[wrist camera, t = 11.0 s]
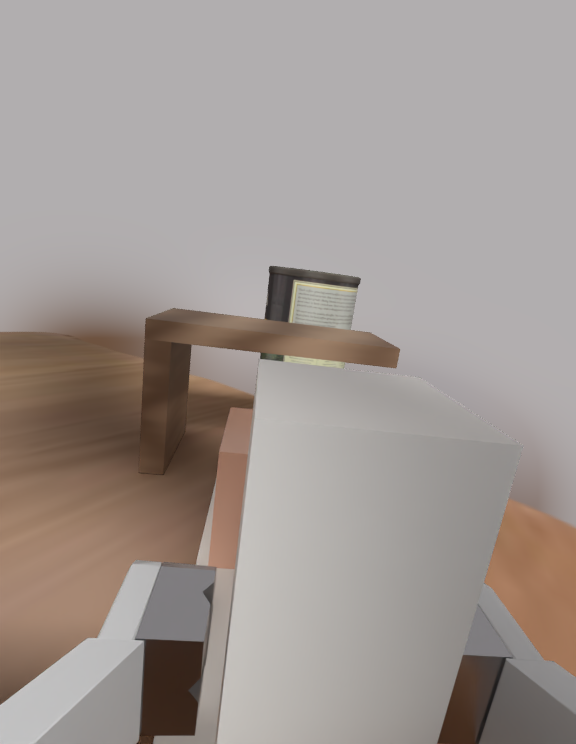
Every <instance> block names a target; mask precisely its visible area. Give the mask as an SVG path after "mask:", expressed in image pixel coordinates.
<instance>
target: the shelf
mask: <svg viewBox="0 0 576 744" xmlns="http://www.w3.org/2000/svg"><path fill="white" fill-rule="evenodd" d="M191 344H192V345H200V346H209V347H218V348H227V349H235V350H243V351H252V352H260V353H269V354H278V355H286V356H295V357H303V358H312V359H321V360H329V361H338V362H347V363H356V364H364V365H373V366H382V367H390V368H396V367H397V362H398V357H399V352H400V349H399V348H397V347H395V346H394V345H392V344H390V343H388V342H386V341H384V340H383V339H381V338H379V337H377V336H375V335H373V334H371V333H369V332H362V331H354V330H346V329H338V328H330V327H322V326H313V325H305V324H297V323H289V322H281V321H273V320H265V319H256V318H248V317H241V316H232V315H224V314H216V313H208V312H200V311H192V310H183V309H176V308H173V309H170V310H167V311H164V312H162V313H159V314H157V315H153V316H151V317H148V318H146V324H145V347H144V368H143V390H142V413H141V435H140V457H139V473H150V474H161V475H163V474H164V472H165V470H166V468H167V466H168V464H169V462H170V460H171V458H172V456H173V454H174V452H175V450H176V448H177V446H178V445H179V443H180V441H181V439H182V437H183V435H184V433H185V426H186V412H187V398H188V385H189V371H190V370H189V369H190V356H191Z"/></svg>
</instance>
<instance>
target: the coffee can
mask: <svg viewBox="0 0 576 744" xmlns="http://www.w3.org/2000/svg"><path fill="white" fill-rule="evenodd" d="M269 273H270V276H269V285H268V295H267V303H266V312H265V320H273V321H281V322H289V323H297V324H305V325H313V326H322V327H330V328H338V329H346V330H351V324H352V319H353V313H354V307H355V302H356V296H357V289H358V285H359V284H360V280H361V279H360V278H359V277H353V276H346V275H340V274H332V273H325V272H318V271H310V270H302V269H294V268H285V267H277V266H270V267H269ZM260 359H265V360H273V361H282V362H291V363H300V364H308V365H317V366H326V367H334V368H343V369H344V366H345V362H338V361H329V360H321V359H312V358H303V357H295V356H286V355H278V354H269V353H261V356H260Z"/></svg>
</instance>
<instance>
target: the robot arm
mask: <svg viewBox="0 0 576 744" xmlns="http://www.w3.org/2000/svg"><path fill="white" fill-rule="evenodd" d="M216 573H217V567H213V566H202V565H191V564H180V563H170V562H164V563H162V562H153V561H142V560H136V561H135V562H134V563H133V564H132V565H131V566H130V568H129V570H128V572H127V575H126V577H125V579H124V581H123V583H122V585H121V587H120V590H119V592H118V594H117V596H116V598H115V600H114V603H113V605H112V607H111V609H110V611H109V613H108V616H107V618H106V620H105V622H104V624H103V626H102V628H101V631H100V633H99V635H98V637H97V638H87V639H85V640H84V641H83V642H81V643H80V644H79V645H77V646H76V647H75V648H74V649H72V650H71V651H70V652H68V653H67V654H66V655H64V656H63V657H62V658H61V659H59V660H58V661H57V662H55V663H54V664H53V665H51V666H50V667H49V668H48V669H46V670H45V671H44V672H42V673H41V674H40V675H38V676H37V677H36V678H35V679H33V680H32V681H31V682H29V683H28V684H27V685H25V686H24V687H23V688H22V689H20V690H19V691H18V692H16V693H15V694H14V695H12V696H11V697H10V698H9V699H7V700H6V701H5V702H3V703H2V704H1V705H0V744H136V743H137V742H138V741H139V736H195V731H196V725H197V719H198V712H199V706H200V700H201V693H202V685H203V676H204V666H205V665H206V660H207V653H208V646H209V638H210V631H211V622H212V614H213V598H214V592H215V585H216ZM437 743H441V744H576V677H574V676H573V675H572V674H570V673H569V672H567V671H566V670H565V669H563V668H562V667H560V666H559V665H558V664H556V663H555V662H554V661H544V659H543V658H542V656H541V655H540V654H539V652H538V651H537V650H536V648H535V647H534V646H533V644H532V643H531V641H530V640H529V639H528V637H527V636H526V635H525V633H524V632H523V630H522V629H521V628H520V626H519V625H518V624H517V622H516V621H515V620H514V618H513V617H512V615H511V614H510V613H509V611H508V610H507V609H506V607H505V606H504V605H503V603H502V602H501V600H500V599H499V598H498V596H497V595H496V594H495V592H494V591H493V589H492V588H491V587H489V586H488V585H486V584H485V583H484V584H483V587H482V591H481V594H480V598H479V601H478V604H477V608H476V611H475V615H474V618H473V622H472V625H471V629H470V632H469V635H468V639H467V642H466V646H465V649H464V653H463V656H462V660H461V663H460V666H459V670H458V673H457V677H456V680H455V684H454V687H453V691H452V694H451V697H450V701H449V704H448V708H447V711H446V715H445V718H444V722H443V725H442V728H441V732H440V735H439V739H438V742H437Z"/></svg>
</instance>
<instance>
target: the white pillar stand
mask: <svg viewBox="0 0 576 744" xmlns="http://www.w3.org/2000/svg"><path fill="white" fill-rule="evenodd" d="M522 449H523V445H522V444H520V443H519V442H517V441H516V440H514V439H513V438H511V437H510V436H508V435H507V434H505V433H504V432H502V431H501V430H499V429H497V428H496V427H495V426H493V425H492V424H490V423H489V422H487V421H486V420H484V419H483V418H481V417H479V416H478V415H476V414H475V413H473V412H472V411H470V410H469V409H467V408H466V407H464V406H463V405H461V404H460V403H458V402H457V401H455V400H454V399H452V398H451V397H449V396H447V395H446V394H445V393H443V392H442V391H440V390H439V389H437V388H435V387H434V386H432V385H431V384H430V383H428V382H426V381H425V380H423V379H422V378H420V377H412V376H404V375H395V374H386V373H378V372H369V371H361V370H351V369H343V368H334V367H326V366H317V365H308V364H300V363H291V362H282V361H273V360H265V359H259V363H258V372H257V379H256V388H255V397H254V406H253V414H252V423H251V432H250V440H249V449H248V458H247V467H246V475H245V484H244V493H243V501H242V510H241V519H240V528H239V536H238V545H237V554H236V562H235V569H224V568H217V573H216V585H215V592H214V598H213V614H212V622H211V631H210V638H209V646H208V653H207V660H206V665H205V666H204V676H203V685H202V693H201V700H200V706H199V712H198V719H197V725H196V731H195V736H155V737H154V741H153V744H437V742H438V739H439V735H440V732H441V728H442V725H443V722H444V718H445V715H446V711H447V708H448V704H449V701H450V697H451V694H452V691H453V687H454V684H455V680H456V677H457V673H458V670H459V666H460V663H461V660H462V656H463V653H464V649H465V646H466V642H467V639H468V635H469V632H470V629H471V625H472V622H473V618H474V615H475V611H476V608H477V604H478V601H479V598H480V594H481V591H482V587H483V584H484V580H485V577H486V573H487V570H488V567H489V563H490V560H491V556H492V553H493V549H494V546H495V542H496V539H497V536H498V532H499V529H500V525H501V522H502V518H503V515H504V511H505V508H506V505H507V501H508V498H509V494H510V491H511V487H512V484H513V480H514V477H515V474H516V470H517V466H518V463H519V460H520V456H521V453H522ZM216 479H217V477H216ZM215 489H216V482H215V486H214V490H213V494H212V498H211V503H210V507H209V511H208V515H207V519H206V523H205V528H204V532H203V536H202V540H201V544H200V549H199V553H198V557H197V561H196V565H202V566H208V562H209V551H210V541H211V531H212V520H213V510H214V499H215Z"/></svg>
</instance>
